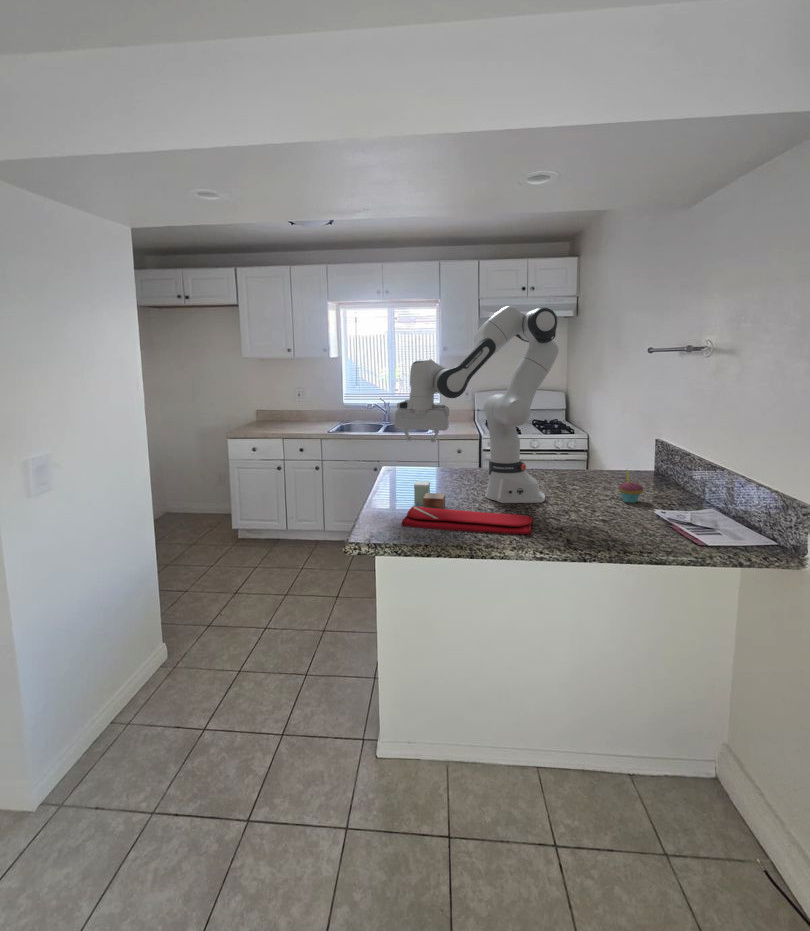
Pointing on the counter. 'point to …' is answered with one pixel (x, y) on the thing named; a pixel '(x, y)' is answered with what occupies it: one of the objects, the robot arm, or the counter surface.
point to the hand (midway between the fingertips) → (421, 441)
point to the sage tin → (420, 491)
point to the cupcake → (630, 490)
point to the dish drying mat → (467, 521)
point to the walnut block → (434, 500)
